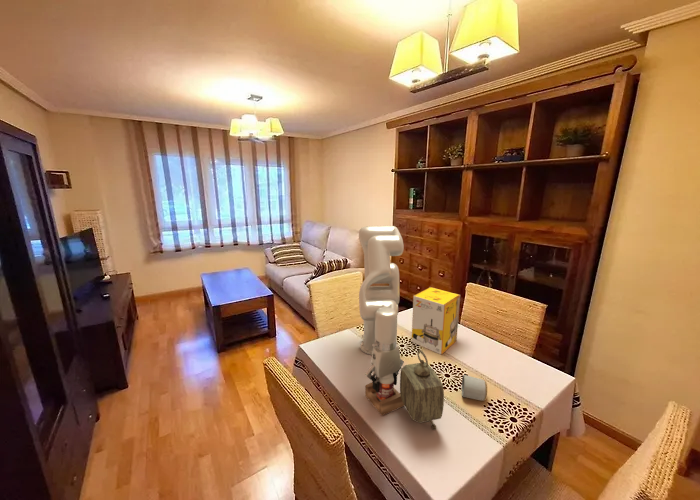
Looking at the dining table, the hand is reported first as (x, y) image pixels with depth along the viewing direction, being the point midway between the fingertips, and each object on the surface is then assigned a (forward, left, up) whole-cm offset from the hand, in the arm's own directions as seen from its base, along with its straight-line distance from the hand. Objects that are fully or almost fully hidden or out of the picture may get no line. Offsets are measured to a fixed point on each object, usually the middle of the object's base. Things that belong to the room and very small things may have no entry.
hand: (384, 386), depth 103 cm
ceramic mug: (+13, +31, -6) cm, 34 cm away
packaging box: (-21, +45, -6) cm, 50 cm away
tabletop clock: (+12, +5, -6) cm, 15 cm away
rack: (0, 0, -6) cm, 6 cm away
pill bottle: (0, 0, -5) cm, 5 cm away
